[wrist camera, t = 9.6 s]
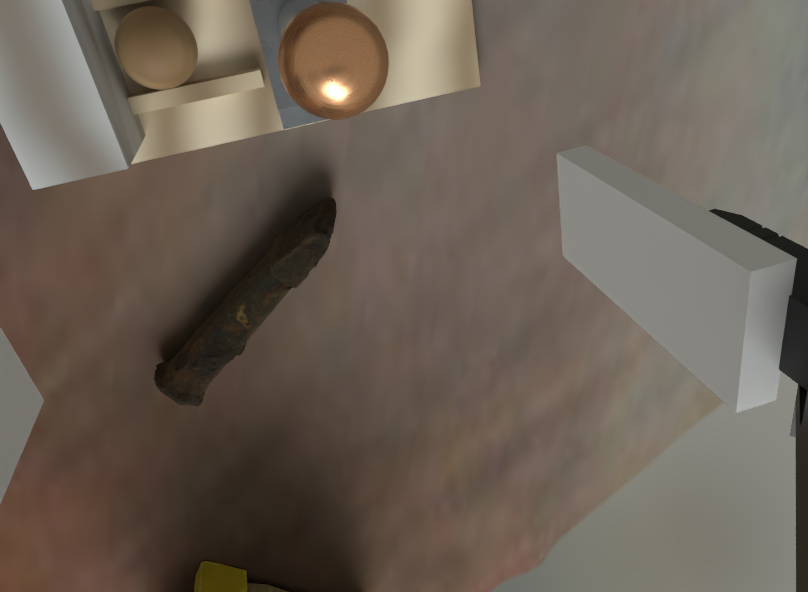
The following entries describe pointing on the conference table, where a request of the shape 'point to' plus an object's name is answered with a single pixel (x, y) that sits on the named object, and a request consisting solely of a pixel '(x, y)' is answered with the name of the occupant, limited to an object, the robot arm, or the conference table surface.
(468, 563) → the conference table surface
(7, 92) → the knob lever base plate
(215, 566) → the decorative book
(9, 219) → the conference table surface
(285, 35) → the ball-top joystick
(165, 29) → the brown ball
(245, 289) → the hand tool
